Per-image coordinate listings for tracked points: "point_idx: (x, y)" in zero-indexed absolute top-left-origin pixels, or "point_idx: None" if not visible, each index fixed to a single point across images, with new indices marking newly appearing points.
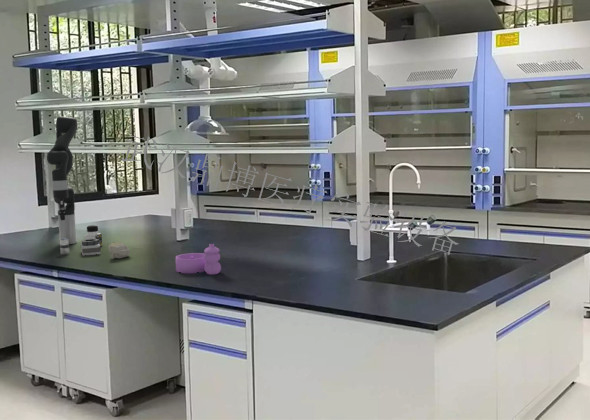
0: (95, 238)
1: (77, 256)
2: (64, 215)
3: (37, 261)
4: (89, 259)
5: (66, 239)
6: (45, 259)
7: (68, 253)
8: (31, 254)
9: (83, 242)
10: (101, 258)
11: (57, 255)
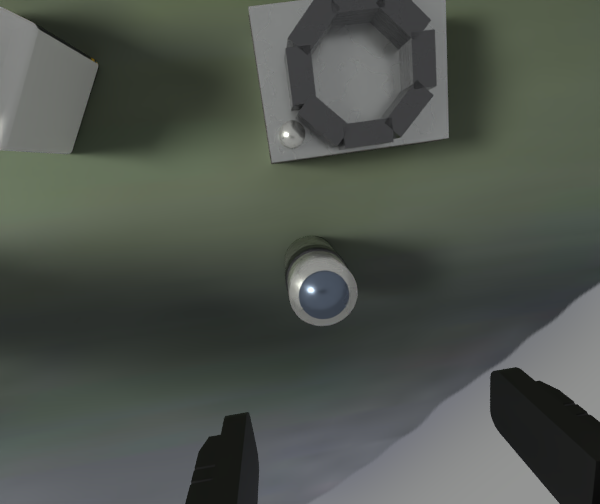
0: (57, 39)
1: (423, 175)
2: (575, 418)
3: (469, 370)
4: (565, 88)
5: (336, 273)
6: (431, 342)
7: (323, 240)
8: None
9: (406, 126)
10: (574, 5)
11: None
